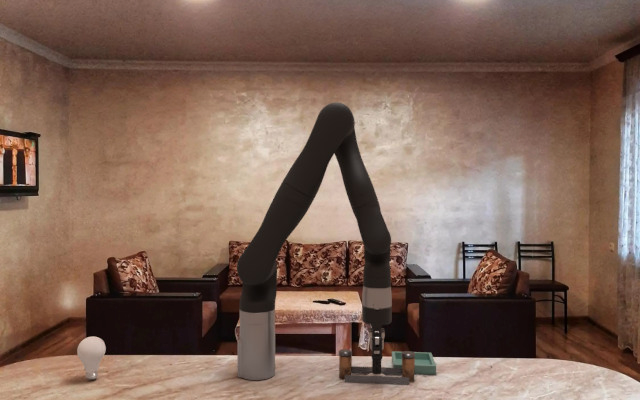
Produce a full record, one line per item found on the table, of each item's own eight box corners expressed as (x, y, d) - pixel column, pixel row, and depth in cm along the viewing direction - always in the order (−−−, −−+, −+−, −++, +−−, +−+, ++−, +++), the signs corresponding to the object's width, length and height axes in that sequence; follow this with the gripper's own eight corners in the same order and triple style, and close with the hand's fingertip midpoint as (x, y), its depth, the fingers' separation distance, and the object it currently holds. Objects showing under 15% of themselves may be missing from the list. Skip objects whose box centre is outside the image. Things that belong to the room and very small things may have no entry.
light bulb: (111, 377, 134) (111, 335, 134) (90, 386, 128) (90, 342, 128) (93, 373, 137) (92, 332, 136) (71, 382, 131) (70, 338, 130)
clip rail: (337, 382, 131) (338, 355, 131) (339, 372, 138) (339, 347, 137) (416, 385, 129) (416, 357, 129) (413, 375, 136) (413, 349, 136)
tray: (393, 373, 137) (393, 364, 137) (391, 359, 148) (391, 351, 148) (436, 375, 136) (436, 366, 136) (431, 361, 147) (431, 352, 147)
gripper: (362, 297, 140) (362, 359, 141) (361, 310, 126) (361, 379, 127) (390, 298, 140) (390, 360, 140) (392, 310, 125) (392, 380, 126)
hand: (376, 369), depth 133 cm, fingers open, 5 cm apart
